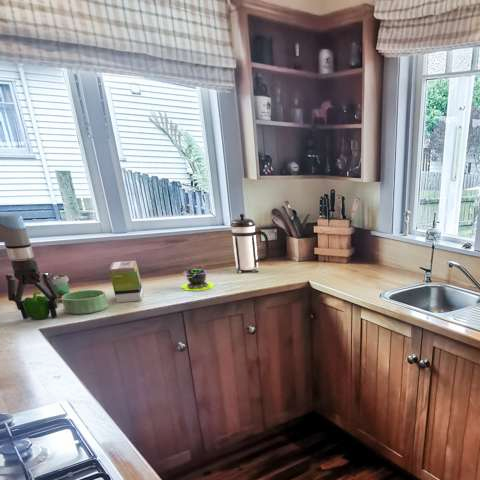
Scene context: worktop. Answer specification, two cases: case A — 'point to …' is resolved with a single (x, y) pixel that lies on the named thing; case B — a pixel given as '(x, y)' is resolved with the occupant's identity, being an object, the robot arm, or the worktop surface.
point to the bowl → (84, 301)
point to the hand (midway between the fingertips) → (40, 317)
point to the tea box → (126, 281)
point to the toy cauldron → (196, 280)
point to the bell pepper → (36, 306)
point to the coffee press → (246, 244)
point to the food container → (60, 284)
